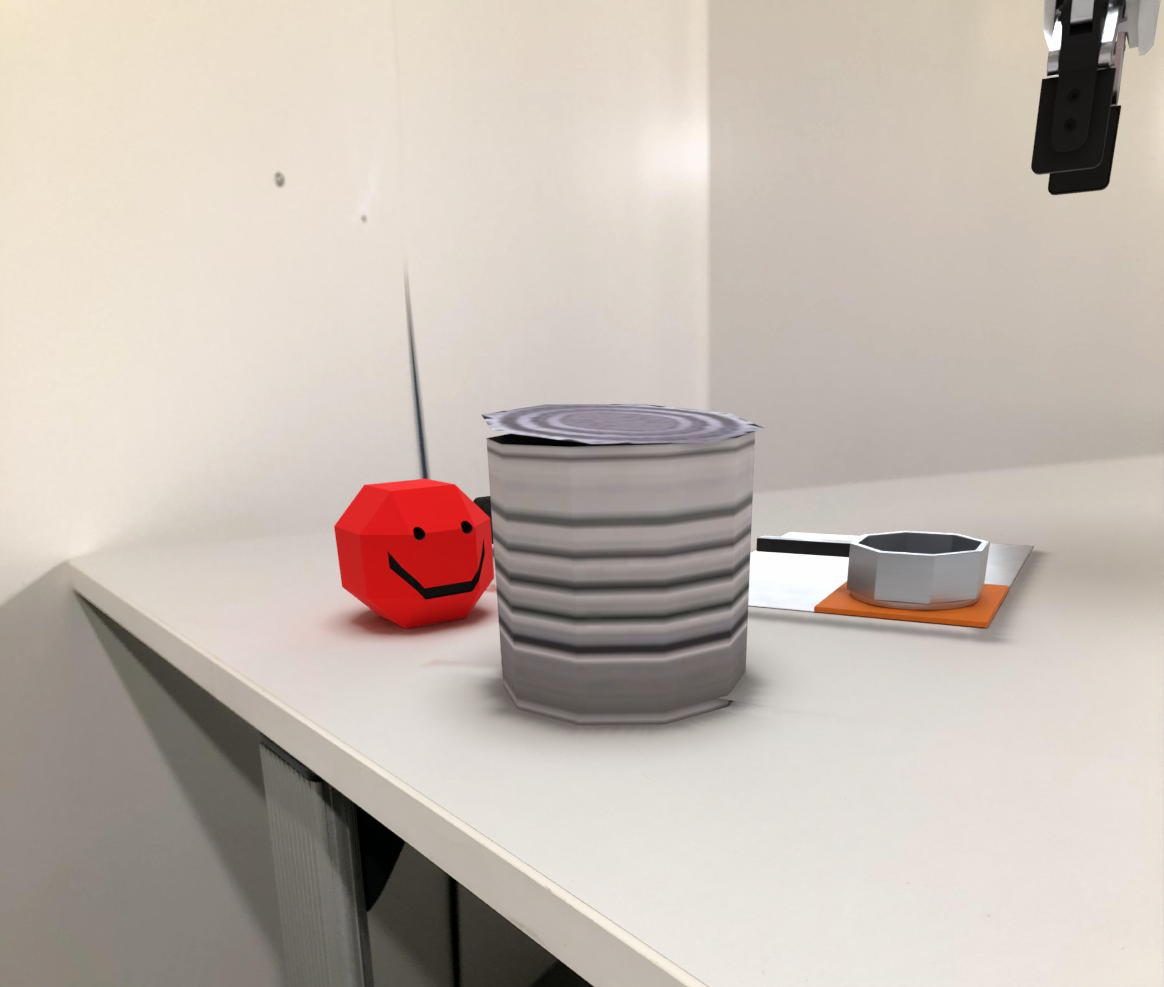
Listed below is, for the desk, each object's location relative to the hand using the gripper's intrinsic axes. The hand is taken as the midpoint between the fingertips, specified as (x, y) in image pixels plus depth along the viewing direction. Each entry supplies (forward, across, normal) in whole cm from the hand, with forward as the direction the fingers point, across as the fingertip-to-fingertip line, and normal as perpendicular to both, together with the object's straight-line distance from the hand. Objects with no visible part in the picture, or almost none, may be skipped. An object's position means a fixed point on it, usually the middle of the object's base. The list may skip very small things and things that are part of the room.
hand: (1071, 182), depth 52 cm
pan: (+21, -10, +7) cm, 24 cm away
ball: (+22, -22, +30) cm, 43 cm away
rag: (+21, -10, +4) cm, 24 cm away
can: (+22, -28, +14) cm, 38 cm away
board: (+22, -2, +9) cm, 24 cm away
